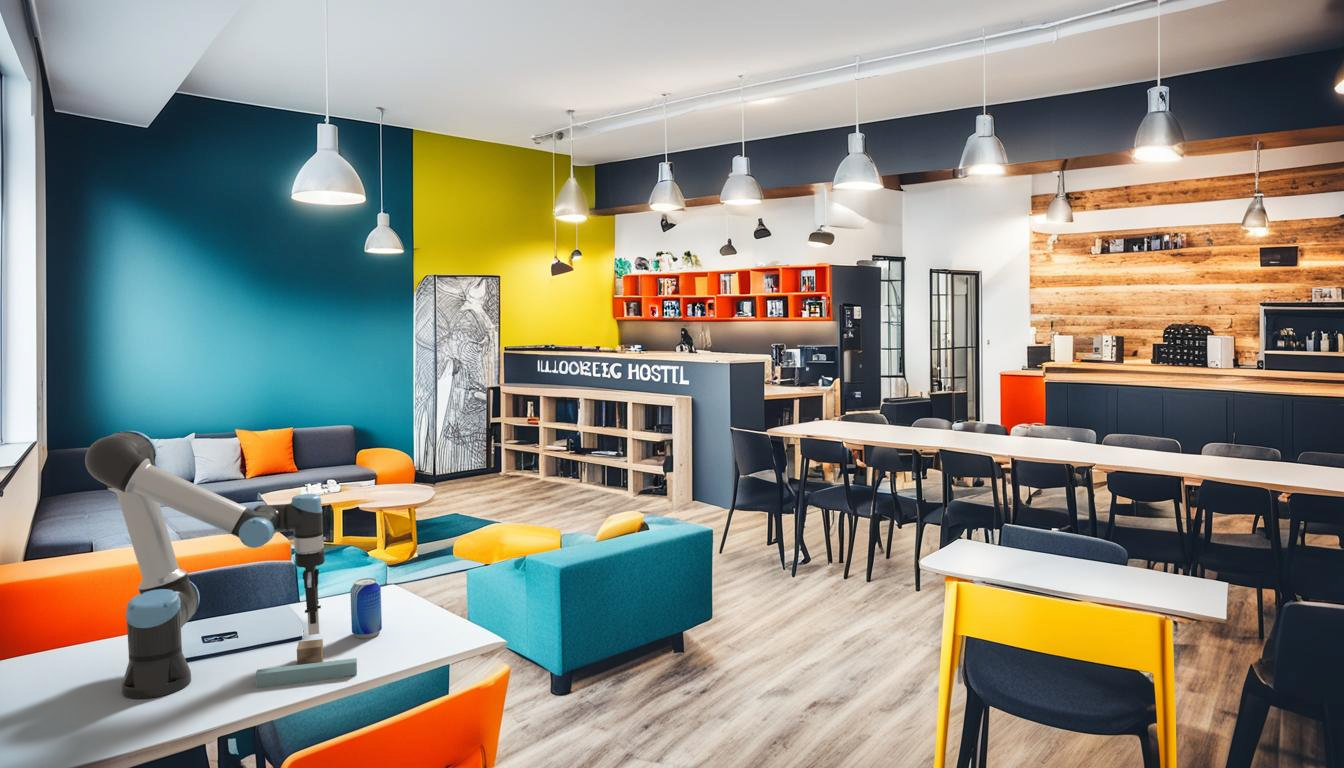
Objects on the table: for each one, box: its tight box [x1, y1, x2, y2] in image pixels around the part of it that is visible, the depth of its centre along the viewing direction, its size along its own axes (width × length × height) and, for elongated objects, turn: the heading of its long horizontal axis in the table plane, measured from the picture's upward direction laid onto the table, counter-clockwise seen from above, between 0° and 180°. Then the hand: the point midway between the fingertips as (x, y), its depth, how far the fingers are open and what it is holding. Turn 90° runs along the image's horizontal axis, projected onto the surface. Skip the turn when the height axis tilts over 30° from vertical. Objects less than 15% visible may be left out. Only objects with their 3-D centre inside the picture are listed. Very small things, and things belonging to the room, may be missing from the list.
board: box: [255, 657, 358, 688], centre depth 226 cm, size 24×3×4 cm, turn 108°
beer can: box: [350, 577, 383, 639], centre depth 258 cm, size 8×8×16 cm
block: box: [296, 638, 324, 665], centre depth 235 cm, size 6×6×6 cm
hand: (314, 633), depth 244 cm, fingers closed
